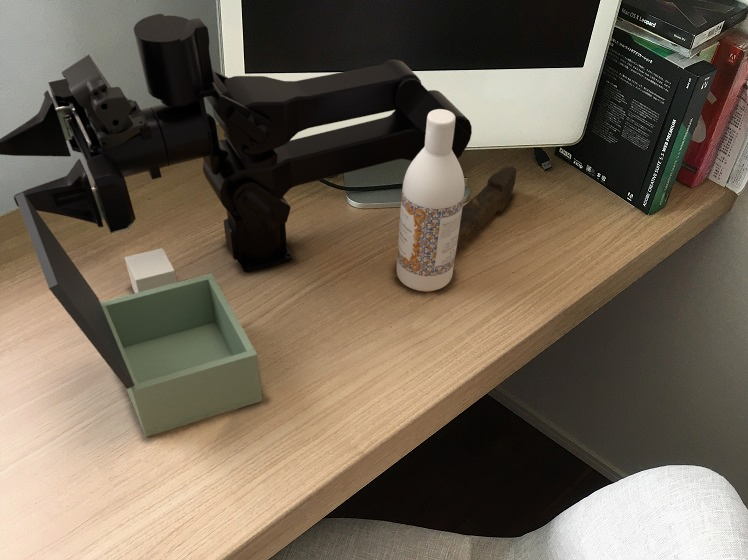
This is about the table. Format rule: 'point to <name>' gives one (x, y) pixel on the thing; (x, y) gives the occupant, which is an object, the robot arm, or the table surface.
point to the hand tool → (486, 203)
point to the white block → (150, 270)
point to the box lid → (73, 290)
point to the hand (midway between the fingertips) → (4, 174)
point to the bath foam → (431, 209)
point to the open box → (183, 353)
